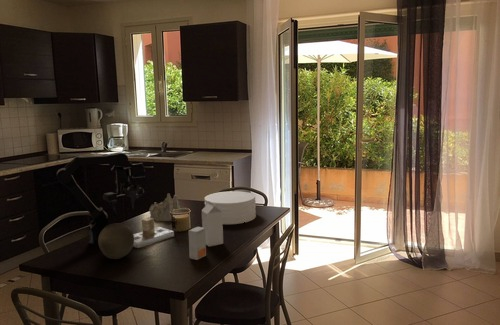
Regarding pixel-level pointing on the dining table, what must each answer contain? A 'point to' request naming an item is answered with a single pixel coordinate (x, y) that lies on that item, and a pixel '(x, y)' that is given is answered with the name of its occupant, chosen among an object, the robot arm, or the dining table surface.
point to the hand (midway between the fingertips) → (125, 211)
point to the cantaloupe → (116, 240)
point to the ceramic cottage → (164, 209)
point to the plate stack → (234, 206)
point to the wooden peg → (148, 227)
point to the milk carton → (212, 224)
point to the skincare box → (197, 243)
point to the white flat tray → (152, 237)
